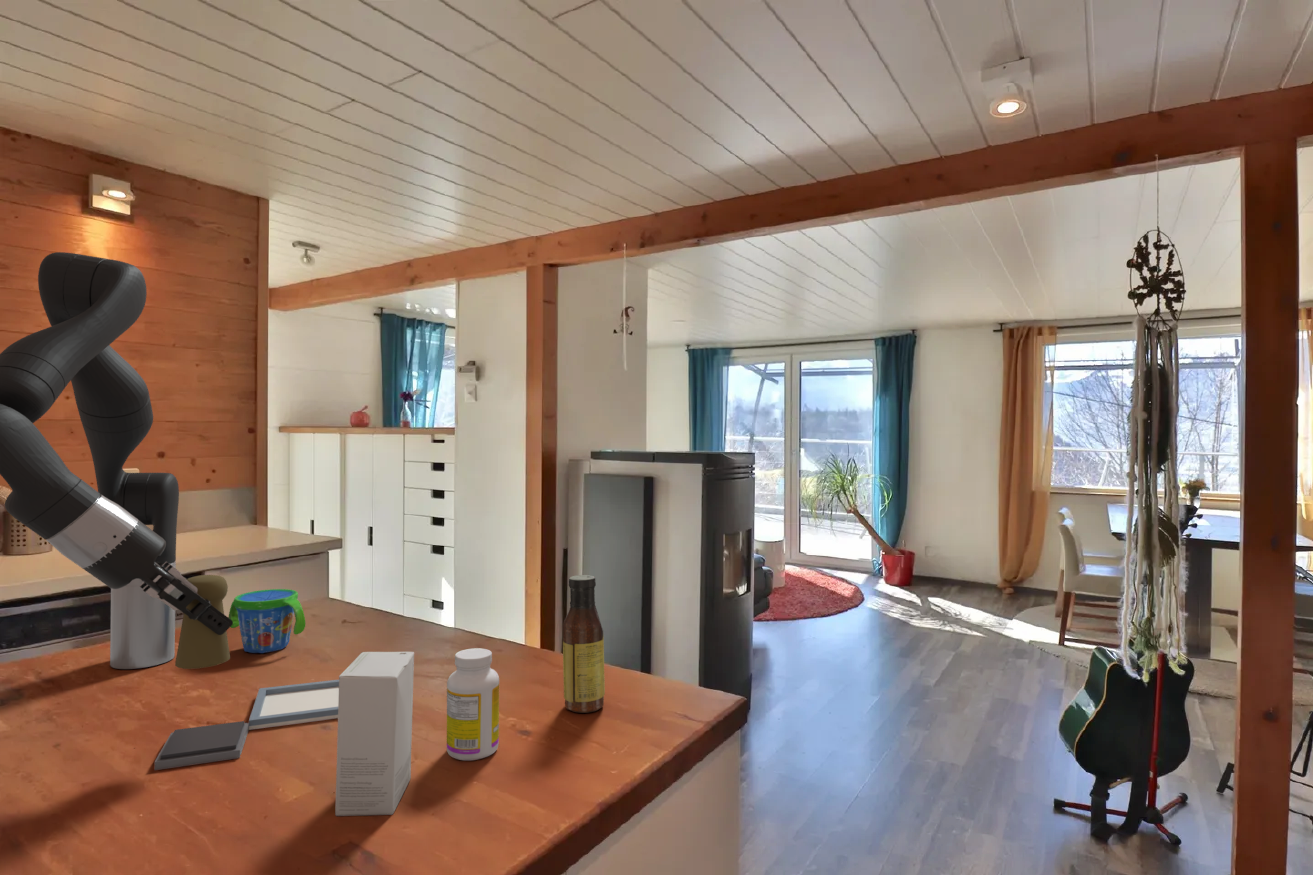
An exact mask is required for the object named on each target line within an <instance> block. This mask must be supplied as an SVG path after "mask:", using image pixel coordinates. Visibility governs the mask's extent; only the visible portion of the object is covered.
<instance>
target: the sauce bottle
mask: <svg viewBox="0 0 1313 875" xmlns="http://www.w3.org/2000/svg"><path fill="white" fill-rule="evenodd" d="M568 586H569V589H570V591H569V592H570V596H569V597H570V598H569V599H570V601H569V606H570V607H569V611H568V613H567V614H566V616H565V618H564V621H563V622H562V623H563V624H562V626H563V627H562V628H563V631H562V632H563V639H562V668H563V670H562V671H563V672H562V676H563V677H562V678H563V698H564V707H565V709H566V710H569V711H572V712H573V713H578V714H579V713H580V714H581V713H582V714H584V713H585V714H588V713H592V712H593V713H594V712H597V711H598V710H600V709H601V708H603V706H604V704H605V702H604V700H605V699H604V698H605V697H604V696H605V694H606V692H605V691H606V689H605V686H606V685H605V683H606V682H605V646H604V645H605V642H604V641H605V640H604V637H605V636H604V635H605V634H604V629H603V627H602V623H601V620H600V616H599V614H598V610H597V605H596V599H595V598H596V597H595V596H596V595H595V588H596V577H595V576H593V575H589V574H580V575H579V574H576V575H572V576H570V577H569V578H568Z"/></svg>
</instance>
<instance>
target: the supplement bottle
mask: <svg viewBox="0 0 1313 875" xmlns="http://www.w3.org/2000/svg"><path fill="white" fill-rule="evenodd" d="M492 662H493V652H492V651H491V650H490V649H486V648H479V647H476V648H475V647H473V648H468V649H462V650H460V651H459V650H458V652H456V653H455V655H454V665H455V667H456V670H455V671H453V672H452V673H451V674H450V675H449V677H448V678H447V681H446V751H447V753H448V755H449V756H450V757H452V758H453V759H455V760H460V761H466V762H467V761H469V762H470V761H476V760H481V759H484V758H487V757H490V756H492V755H493V754H494V753H495V752H496V751H497V750H498V748H499V745H500V744H499V742H500V741H499V740H500V739H499V738H500V736H499V735H500V723H499V722H500V676H499V674H498V672H497V671H496V670H495V669H494V668H491V665H492Z"/></svg>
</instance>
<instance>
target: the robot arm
mask: <svg viewBox="0 0 1313 875" xmlns="http://www.w3.org/2000/svg"><path fill="white" fill-rule="evenodd" d="M37 282H38V283H37V284H38V285H37V286H38V292H39V297H40V301H41V303H42V306H43V309H44V312H45V315H46V317H47V320H48V322H49V325H50V326H49V327H46V328H43V329H40V330H38V331H35V332H33V333H30V334H28V335H26V336H24V337H22V338H20V339H18V340H16V341H15V342H13V343H11V344H9V345H8V346H7V347H6V348H5V349H4V350H2V351H1V352H0V476H1V478H3V480H4V481H5V482H6V483H7V484H8V486H9V487H10V489H11V490H12V491H11V492H10V493H9V495H8V496H7V497H6V499H5V501H4V502H5V503H4V507H5V510H6V512H8V513H9V515H10V516H12V517H13V518H14V519H15V520H17V521H18V522H20V523H21V525H24V526H25V527H26V528H28V529H29V530H30V531H32V532H34V533H35V534H36V535H38V536H39V537H41V538H42V539H44V540H46V542H48V543H49V544H50V545H51V546H52V547H53V548H54V549H55V550H57V551H58V552H59V553H60V554H61V555H62V556H64V557H65V558H67V559H68V560H69V561H71V562H72V563H74V564H76V565H77V566H78V567H80V568H81V569H82V570H84V571H85V572H87V573H88V574H90V575H91V576H93V577H94V578H96V579H97V580H98V581H100V582H101V583H103V584H105V586H107V587H108V588H110V642H109V643H110V645H109V646H110V647H109V649H110V650H109V656H110V657H109V658H110V659H109V660H110V661H109V667H111V668H113V669H116V670H117V669H119V670H133V669H142V668H148V667H149V668H150V667H154V666H157V665H161V664H164V663H167V662H169V661H171V660H173V659H174V658H175V654H176V653H175V651H176V650H175V649H176V647H175V646H176V644H175V643H176V642H175V641H176V640H175V638H176V637H175V635H176V611H180V612H181V613H183V614H184V613H185V614H186V615H188V618H190V619H193V620H198V621H200V622H201V623H202V624H204V625H205V626H206V627H208V628H209V629H211V630H212V631H213V632H215V633H216V634H218V635H222V634H224V633H225V632H226V631H228V630H229V629H231V626H232V624H233V621H232V620H231V619H230V618H228V617H229V616H227V615H225V613H224V614H223V613H221V612H220V611H219V610H217V609H216V608H215V607H213V606H212V604H211V603H210V601H209V600H207V599H206V600H205V599H204V598H202V597H201V596H200V595H198V594H197V591H198V589H197V587H195V586H194V585H193V584H191V583H190V582H189V581H187V579H188V578H186V577H185V576H183V575H182V573H181V572H180V571H179V570H178V569H177V568H176V567H177V565H176V564H177V563H176V562H177V561H176V560H177V528H178V527H177V525H178V514H179V500H180V489H179V488H180V486H179V483H178V479H177V477H176V476H175V475H174V474H173V473H170V472H126V471H125V469H123V467H124V465H125V463H126V461H127V460H128V458H129V456H130V455H131V454H132V453H133V452H134V451H135V450H136V448H137V447H138V446H139V445H140V444H141V443H142V441H143V440H144V439H145V438H146V436H147V435H148V433H149V432H150V430H151V428H152V426H153V423H154V412H153V407H152V403H151V398H150V397H151V395H150V391H149V388H148V385H147V382H145V380H144V378H143V377H142V376H141V375H140V373H138V371H137V370H136V369H135V368H134V367H133V366H132V365H131V364H130V363H129V362H128V361H127V360H126V359H125V358H123V357H122V356H121V355H120V354H119V353H118V352H117V351H116V350H115V349H114V348H113V347H112V346H111V344H112V343H114V342H115V341H116V339H118V338H119V337H121V335H123V334H124V333H125V332H126V331H127V330H129V329H130V328H131V327H132V326H133V325H134V324H135V322H137V321H138V319H139V318H140V317H141V315H142V314H143V310H144V308H145V305H146V302H147V285H146V284H147V283H146V279H145V277H144V274H143V272H142V271H141V270H140V269H139V268H138V267H137V266H135V265H133V264H131V263H129V262H125V261H121V260H116V259H110V258H104V257H97V256H91V255H86V254H79V253H74V252H61V251H59V252H58V251H57V252H51V253H49V254H48V255H46V256H44V258H43V259H42V261H41V262H40V265H39V268H38V275H37ZM70 382H71V386H72V389H73V394H74V400H75V405H76V407H77V412H78V415H79V418H80V422H81V426H82V428H83V431H84V434H85V437H86V441H87V443H88V447H89V449H90V454H91V459H92V461H93V462H92V463H93V467H94V468H93V469H94V474H95V480H96V485H97V486H96V487H97V490H96V489H95V488H93V487H92V486H91V485H90V484H88V483H87V482H85V481H84V480H83V479H81V478H80V477H79V476H77V475H76V474H74V473H73V472H72V471H70V469H69V468H68V466H66V464H65V462H64V461H63V459H62V458H61V456H60V455H59V454H58V453H57V452H56V450H55V449H54V447H52V445H51V444H50V443H49V441H48V440H47V439H46V437H45V436H44V435H43V434H42V432H41V431H40V429H38V427H37V426H36V425H35V424H34V423H35V422H37V421H39V419H41V418H42V417H43V416H44V415H45V414H47V412H48V411H49V410H50V409H51V407H53V405H54V403H55V402H56V401H57V399H58V398H59V397H60V396H61V394H62V393H63V391H64V390H65V389H66V387H67V386H68V384H70ZM149 526H153V527H152V529H151V528H150V527H149ZM183 583H184V584H185V585H186V586H185V585H184V584H183ZM187 586H188V587H187ZM194 599H197V600H198V601H200V602H199V603H198V604H197V605H196V606H194V607H193V608H192V609H191V610H189V609H187V608H186V607H187V606H188V605H189V604H190V603H191V602H192V601H193V600H194Z"/></svg>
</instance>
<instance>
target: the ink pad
mask: <svg viewBox="0 0 1313 875" xmlns="http://www.w3.org/2000/svg"><path fill="white" fill-rule="evenodd" d="M249 731H250V730H249V722H245V720H243V721H242V720H241V721H235V722H234V721H233V722H226V723H225V722H224V723H218V724H212V725H210V724H209V725H204V726H203V725H202V726H195V727H187V728H177V729H174V731H173V732H170V734H169V736H168V738H167V739H166V742H165V743H164V745H163V747H162V748H161V750H160V751H159V753H158V755H157V757H156V758H155V760H154V771H159V770H166V769H172V768H180V767H187V766H192V765H193V766H194V765H200V764H207V763H215V762H221V761H228V760H236V759H240V758H241V756H240V755H242V752H243V749H244V745H245V743H246V739H247V736H248V733H249Z"/></svg>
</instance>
